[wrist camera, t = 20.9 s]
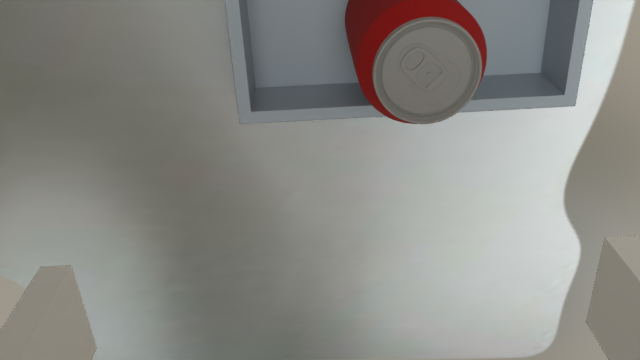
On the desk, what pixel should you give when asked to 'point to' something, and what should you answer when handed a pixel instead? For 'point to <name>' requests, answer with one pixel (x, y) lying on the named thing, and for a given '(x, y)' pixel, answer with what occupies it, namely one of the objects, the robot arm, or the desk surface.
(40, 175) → the desk surface
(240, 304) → the desk surface
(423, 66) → the beverage can
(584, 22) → the tote
